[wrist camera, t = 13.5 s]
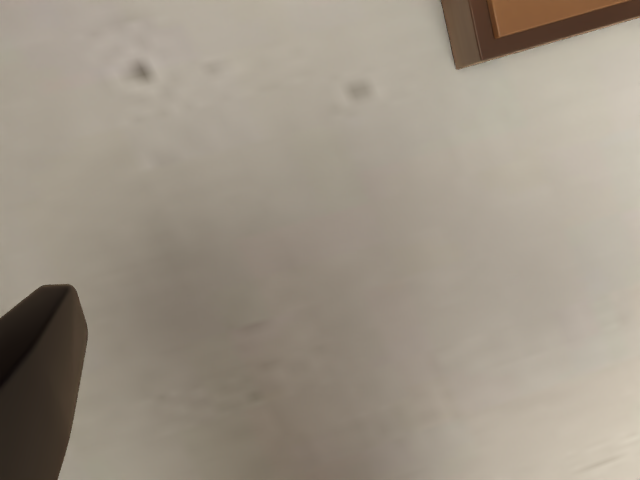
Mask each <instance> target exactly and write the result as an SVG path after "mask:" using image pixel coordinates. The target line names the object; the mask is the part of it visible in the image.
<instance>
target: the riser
mask: <svg viewBox="0 0 640 480" xmlns="http://www.w3.org/2000/svg"><path fill="white" fill-rule="evenodd" d="M441 2H442V6H443V11H444V15H445V20H446V25H447V29H448V34H449V38H450V43H451V47H452V52H453V56H454V61H455V65H456V69H462V68H465V67H469V66H472V65H476V64H479V63H483V62H486V61H490V60H493V59H497V58H500V57H504V56H507V55H510V54H514V53H517V52H521V51H524V50H528V49H531V48H535V47H538V46H542V45H545V44H549V43H552V42H556V41H559V40H563V39H566V38H570V37H573V36H577V35H580V34H584V33H587V32H591V31H594V30H598V29H601V28H605V27H608V26H612V25H615V24H619V23H622V22H626V21H629V20H633V19H636V18H640V0H441Z"/></svg>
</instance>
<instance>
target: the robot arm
mask: <svg viewBox="0 0 640 480" xmlns="http://www.w3.org/2000/svg"><path fill="white" fill-rule="evenodd" d="M87 340H88V329H87V323H86V320H85V317H84V314H83V310H82V307H81V304H80V300H79V297H78V294H77V291H76V289H75V288H74V287H73V286H72V285H70V284H53V285H43V286H41V287H39V288H38V289H36V290H35V291H34V292H33V293H31V294H30V295H29V296H27V297H26V298H25V299H24V300H22V301H21V302H20V303H19V304H17V305H16V306H15V307H14V308H12V309H11V310H10V311H9V312H7V313H6V314H5V315H4V316H2V317H1V318H0V480H58V476H59V473H60V470H61V467H62V463H63V460H64V457H65V453H66V450H67V446H68V442H69V439H70V434H71V429H72V424H73V419H74V414H75V408H76V402H77V397H78V391H79V385H80V380H81V374H82V369H83V363H84V357H85V352H86V346H87Z"/></svg>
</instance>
